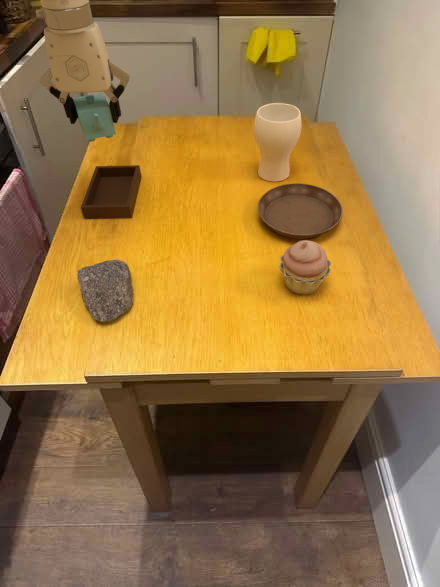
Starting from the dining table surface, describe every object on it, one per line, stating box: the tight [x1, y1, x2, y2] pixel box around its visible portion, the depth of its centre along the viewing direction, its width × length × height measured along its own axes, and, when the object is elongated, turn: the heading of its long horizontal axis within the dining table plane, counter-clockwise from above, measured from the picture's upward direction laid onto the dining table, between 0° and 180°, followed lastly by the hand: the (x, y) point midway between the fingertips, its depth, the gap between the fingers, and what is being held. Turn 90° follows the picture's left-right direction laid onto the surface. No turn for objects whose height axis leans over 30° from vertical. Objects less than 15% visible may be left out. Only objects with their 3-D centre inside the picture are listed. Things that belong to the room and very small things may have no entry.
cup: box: [253, 102, 303, 182], centre depth 95 cm, size 11×11×15 cm
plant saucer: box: [257, 182, 344, 240], centre depth 87 cm, size 18×18×3 cm
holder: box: [80, 164, 142, 220], centre depth 94 cm, size 17×11×3 cm, turn 0°
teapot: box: [72, 92, 117, 143], centre depth 81 cm, size 12×6×8 cm, turn 22°
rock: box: [76, 259, 134, 323], centre depth 73 cm, size 12×5×10 cm
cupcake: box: [278, 239, 332, 296], centre depth 72 cm, size 9×9×10 cm
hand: (95, 119), depth 81 cm, fingers closed on teapot, 7 cm apart
